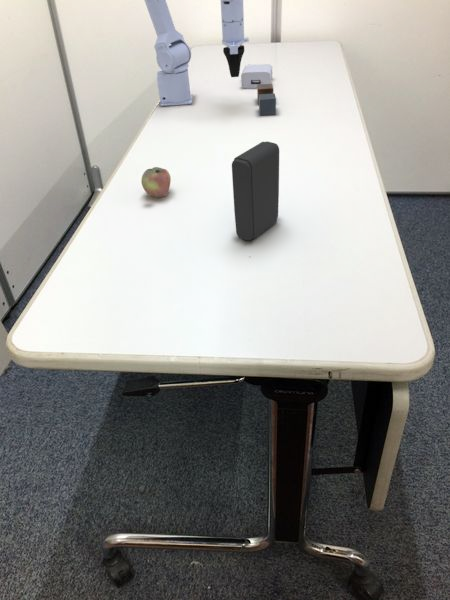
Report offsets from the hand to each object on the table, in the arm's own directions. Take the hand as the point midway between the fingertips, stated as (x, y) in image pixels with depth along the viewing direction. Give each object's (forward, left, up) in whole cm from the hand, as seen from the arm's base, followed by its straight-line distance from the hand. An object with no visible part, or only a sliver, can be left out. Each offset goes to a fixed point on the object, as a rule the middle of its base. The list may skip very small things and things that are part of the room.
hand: (234, 76), depth 128 cm
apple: (-17, -50, -9) cm, 54 cm away
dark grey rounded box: (+3, -65, -9) cm, 66 cm away
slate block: (+9, -5, -9) cm, 13 cm away
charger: (+8, +25, -9) cm, 27 cm away
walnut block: (+9, +4, -9) cm, 13 cm away
